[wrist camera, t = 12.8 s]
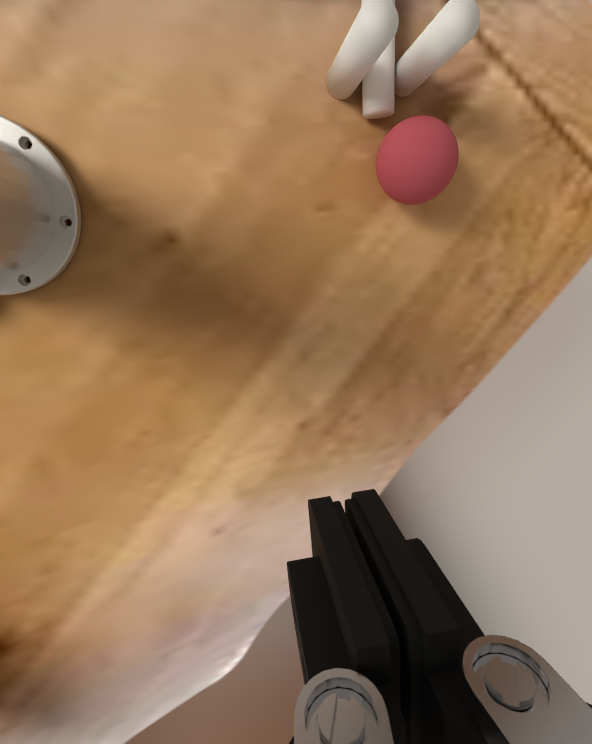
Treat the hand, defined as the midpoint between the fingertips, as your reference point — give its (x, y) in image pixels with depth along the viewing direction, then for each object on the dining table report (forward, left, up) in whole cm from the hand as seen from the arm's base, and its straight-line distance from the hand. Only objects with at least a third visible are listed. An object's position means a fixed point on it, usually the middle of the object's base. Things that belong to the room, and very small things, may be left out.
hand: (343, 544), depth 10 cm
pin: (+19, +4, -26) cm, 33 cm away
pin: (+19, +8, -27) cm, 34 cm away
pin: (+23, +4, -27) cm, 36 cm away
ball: (+18, 0, -24) cm, 30 cm away
